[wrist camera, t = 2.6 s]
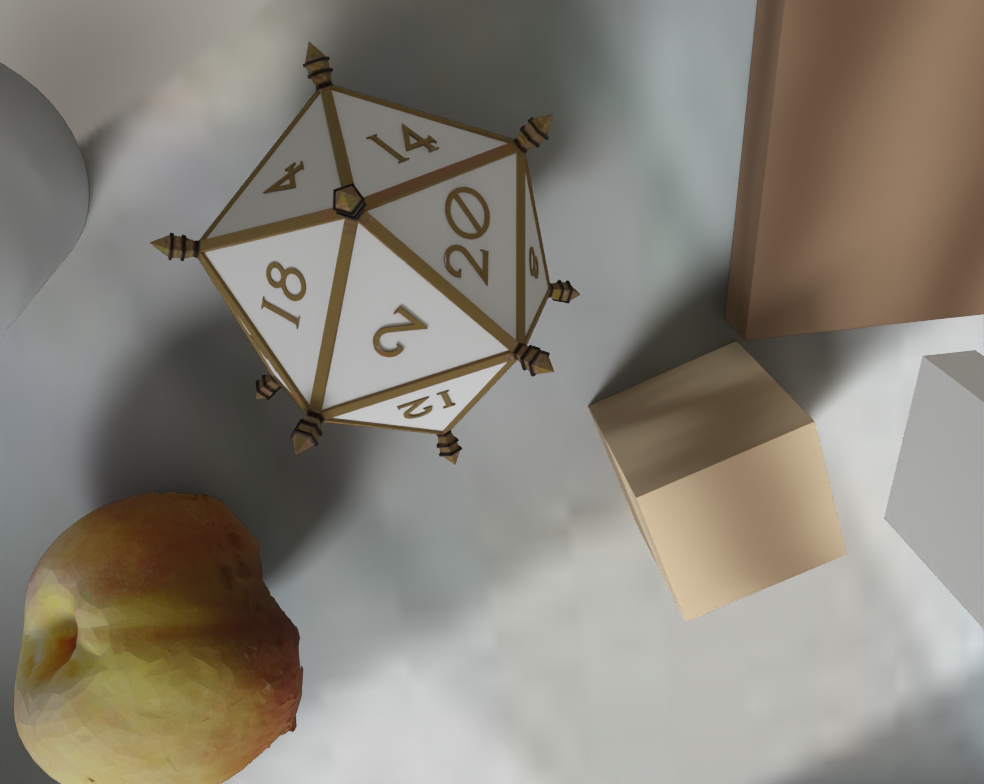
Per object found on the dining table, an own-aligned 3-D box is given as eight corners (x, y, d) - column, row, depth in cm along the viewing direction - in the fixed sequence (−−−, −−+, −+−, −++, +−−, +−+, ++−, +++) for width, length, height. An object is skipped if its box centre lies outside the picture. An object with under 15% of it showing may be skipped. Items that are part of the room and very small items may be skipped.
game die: (327, 132, 25) (200, -112, 15) (605, 216, 24) (666, 21, 14) (221, 421, 24) (9, 365, 14) (508, 517, 23) (501, 530, 13)
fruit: (220, 395, 24) (175, 581, 17) (360, 585, 28) (369, 797, 21) (-8, 507, 25) (-141, 732, 18) (162, 678, 29) (108, 915, 22)
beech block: (633, 518, 29) (685, 621, 25) (587, 404, 26) (636, 497, 22) (769, 459, 29) (846, 554, 24) (735, 339, 26) (814, 421, 22)
